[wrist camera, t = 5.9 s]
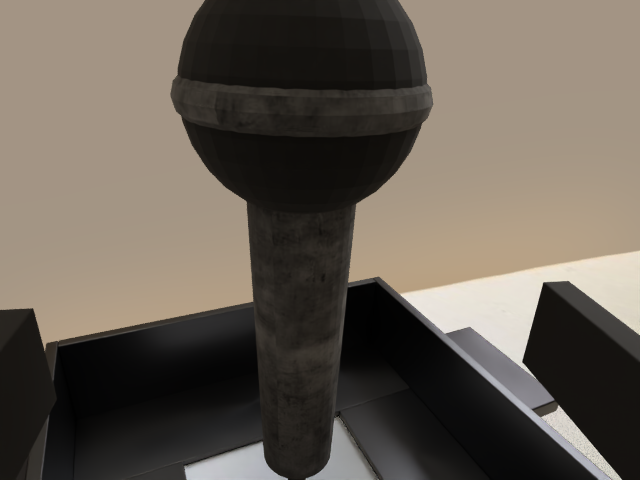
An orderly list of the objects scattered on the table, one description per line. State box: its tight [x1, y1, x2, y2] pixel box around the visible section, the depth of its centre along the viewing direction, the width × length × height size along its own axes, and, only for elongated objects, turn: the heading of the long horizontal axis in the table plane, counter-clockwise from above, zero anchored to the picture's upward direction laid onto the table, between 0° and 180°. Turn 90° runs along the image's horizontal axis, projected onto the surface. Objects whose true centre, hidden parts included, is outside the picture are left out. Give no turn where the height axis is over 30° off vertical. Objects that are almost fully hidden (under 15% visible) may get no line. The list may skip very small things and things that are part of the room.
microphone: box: [171, 0, 433, 480], centre depth 15 cm, size 7×7×20 cm
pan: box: [16, 277, 612, 480], centre depth 18 cm, size 22×18×5 cm
